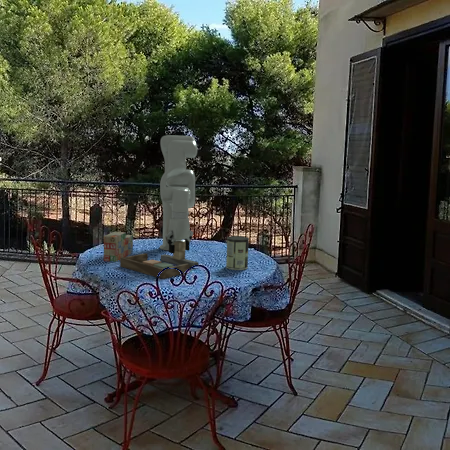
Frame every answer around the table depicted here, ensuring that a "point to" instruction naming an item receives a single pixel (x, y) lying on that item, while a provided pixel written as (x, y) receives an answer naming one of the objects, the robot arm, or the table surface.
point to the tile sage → (163, 265)
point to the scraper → (178, 255)
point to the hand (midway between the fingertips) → (179, 251)
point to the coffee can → (237, 252)
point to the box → (149, 266)
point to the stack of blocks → (117, 246)
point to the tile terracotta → (151, 262)
